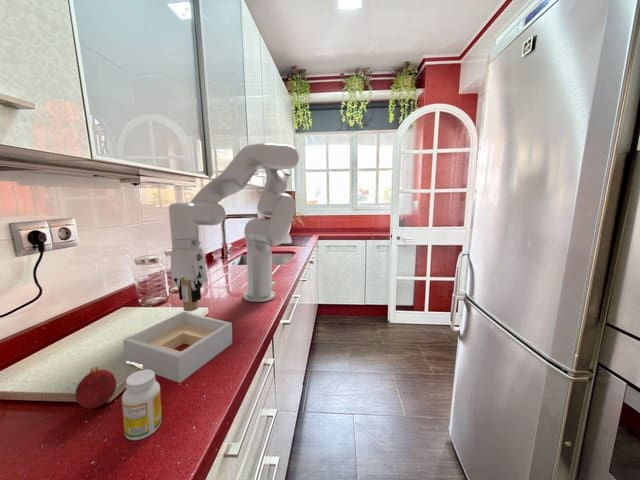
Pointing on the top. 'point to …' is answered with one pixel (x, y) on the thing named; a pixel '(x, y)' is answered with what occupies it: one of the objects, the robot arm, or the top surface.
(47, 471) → the top surface
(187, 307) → the sprinkles bottle
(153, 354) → the open box
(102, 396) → the onion
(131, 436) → the supplement bottle
